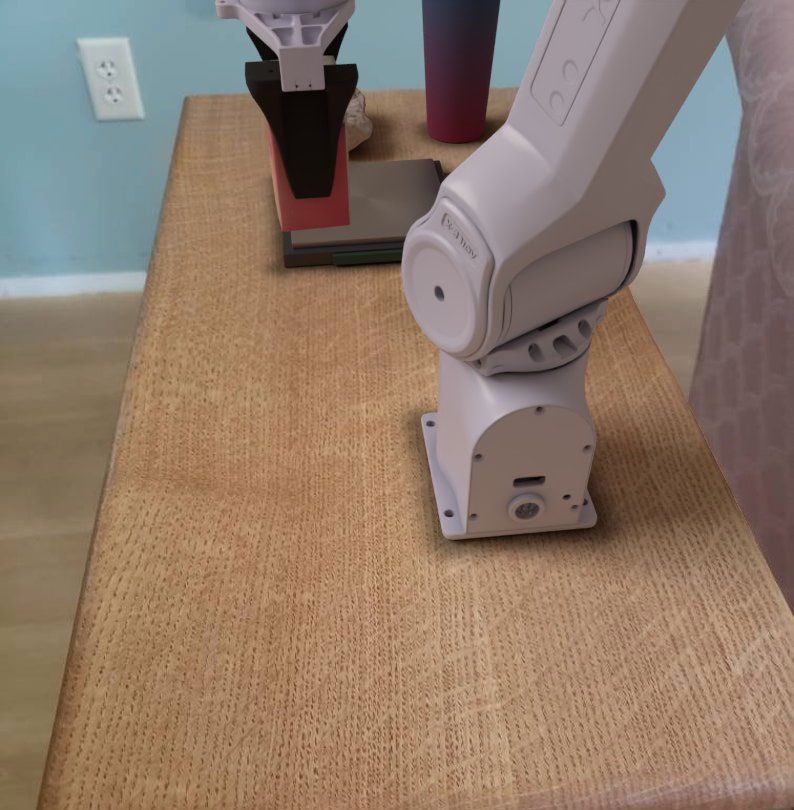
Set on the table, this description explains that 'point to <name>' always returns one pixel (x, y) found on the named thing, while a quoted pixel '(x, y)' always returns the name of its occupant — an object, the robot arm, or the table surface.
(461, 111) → the cup
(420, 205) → the scale
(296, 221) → the small box
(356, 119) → the fossil
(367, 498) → the table surface
